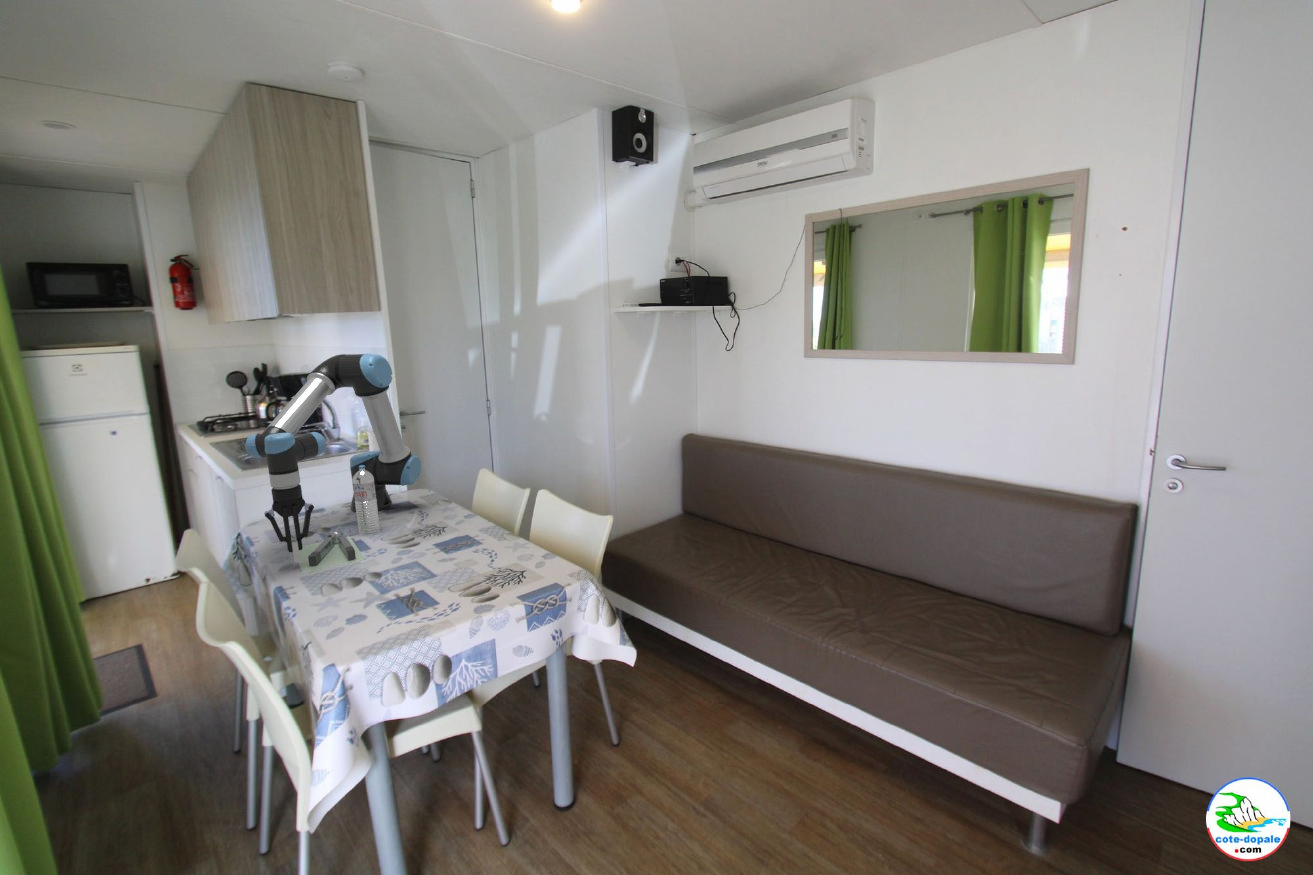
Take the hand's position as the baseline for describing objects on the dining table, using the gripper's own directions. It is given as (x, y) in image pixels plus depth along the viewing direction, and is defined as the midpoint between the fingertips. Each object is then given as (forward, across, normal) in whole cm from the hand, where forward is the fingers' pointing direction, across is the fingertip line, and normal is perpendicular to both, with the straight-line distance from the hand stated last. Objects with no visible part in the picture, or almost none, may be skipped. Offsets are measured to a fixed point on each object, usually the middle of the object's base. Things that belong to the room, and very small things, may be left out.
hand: (297, 560), depth 185 cm
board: (+3, -9, -6) cm, 11 cm away
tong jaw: (+2, -7, -5) cm, 9 cm away
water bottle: (+3, -24, -20) cm, 31 cm away
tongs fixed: (+2, -13, -7) cm, 15 cm away
